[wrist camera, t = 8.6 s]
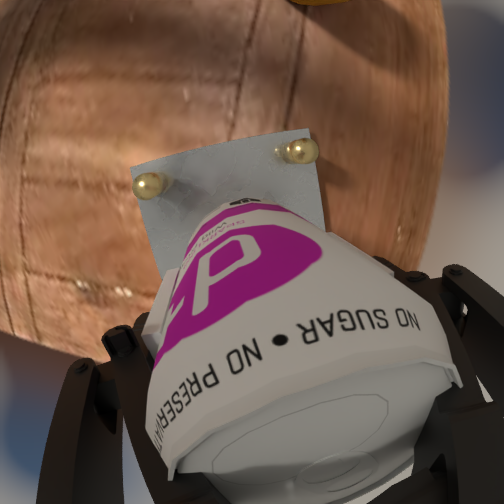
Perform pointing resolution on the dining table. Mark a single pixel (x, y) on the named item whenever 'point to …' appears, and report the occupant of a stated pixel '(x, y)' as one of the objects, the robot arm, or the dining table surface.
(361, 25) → the dining table surface
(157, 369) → the supplement can
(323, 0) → the apple
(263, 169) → the plate
